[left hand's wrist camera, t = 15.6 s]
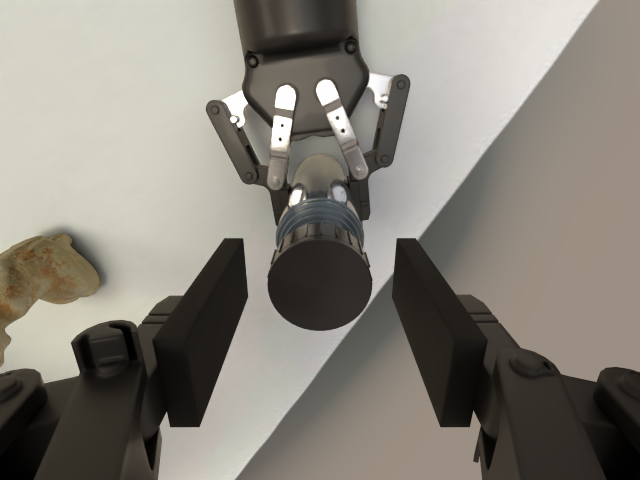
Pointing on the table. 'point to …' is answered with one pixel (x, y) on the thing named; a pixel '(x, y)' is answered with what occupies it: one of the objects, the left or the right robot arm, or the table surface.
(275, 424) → the table surface
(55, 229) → the table surface
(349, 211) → the bottle
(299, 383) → the table surface
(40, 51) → the table surface
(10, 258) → the sculpture
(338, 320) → the cap
